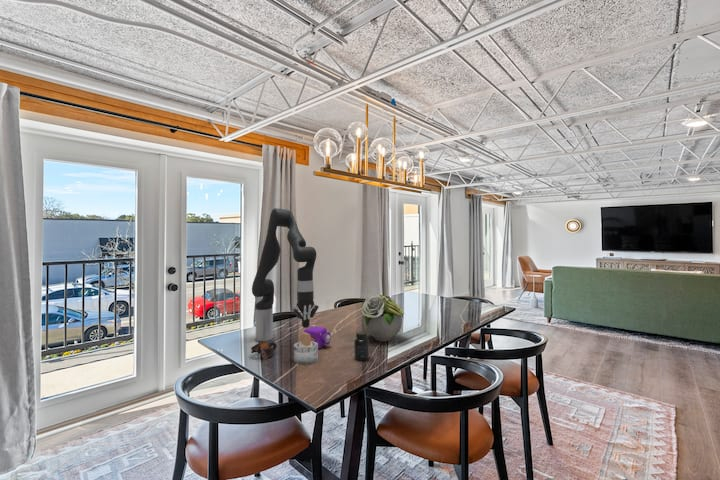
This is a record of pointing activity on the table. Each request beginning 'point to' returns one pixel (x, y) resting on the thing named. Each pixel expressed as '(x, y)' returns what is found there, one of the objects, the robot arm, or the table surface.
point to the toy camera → (319, 335)
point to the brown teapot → (264, 347)
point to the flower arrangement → (382, 317)
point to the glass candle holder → (305, 353)
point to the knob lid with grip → (305, 340)
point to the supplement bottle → (361, 346)
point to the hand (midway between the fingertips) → (305, 327)
